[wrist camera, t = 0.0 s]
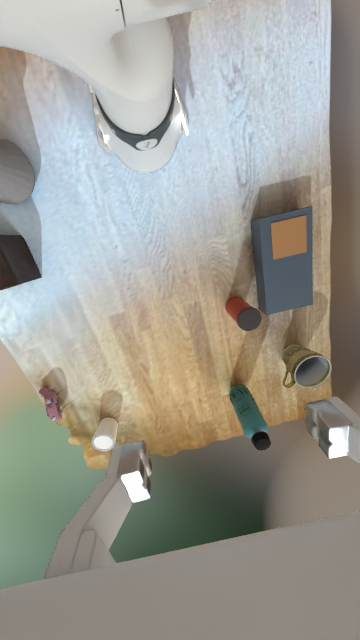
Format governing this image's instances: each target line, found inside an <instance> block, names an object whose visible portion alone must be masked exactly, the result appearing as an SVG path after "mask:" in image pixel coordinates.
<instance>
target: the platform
mask: <svg viewBox="0 0 360 640" xmlns="http://www.w3.org/2000/svg"><path fill="white" fill-rule="evenodd" d="M251 231H252V241H253V252H254V262H255V272H256V283H257V293H258V304H259V310H261V311H262V312H264V313H265V314H266V315H269V314H273V313H277V312H282V311H286V310H290V309H294V308H299V307H303V306H307V305H312V304H313V296H312V206H311V207H307V208H302V209H298V210H294V211H290V212H285V213H281V214H277V215H273V216H268V217H264V218H260V219H256V220H252V221H251Z"/></svg>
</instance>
